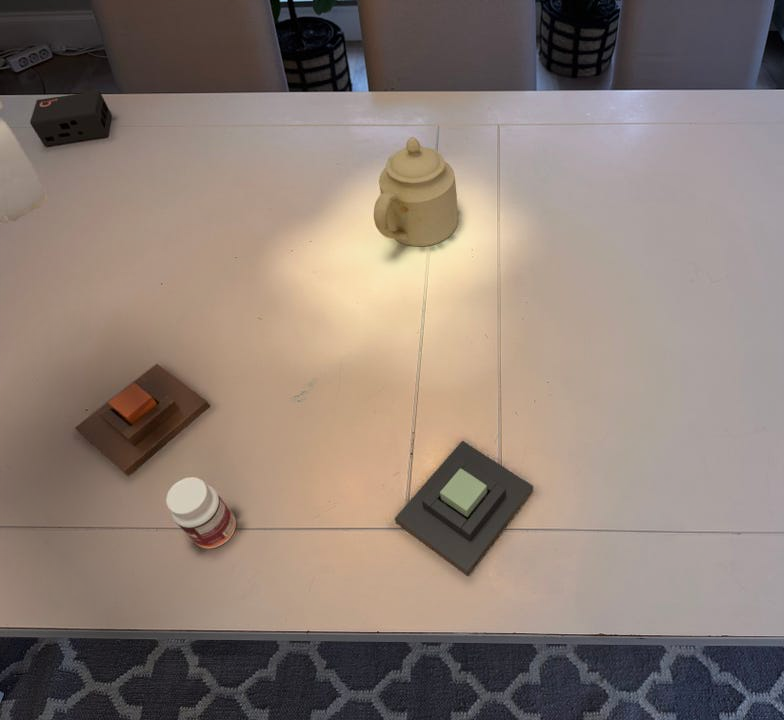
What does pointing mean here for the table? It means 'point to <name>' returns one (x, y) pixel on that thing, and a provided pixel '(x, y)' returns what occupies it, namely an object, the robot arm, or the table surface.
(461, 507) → the near key
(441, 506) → the dark grey stepped base
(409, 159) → the sugar bowl
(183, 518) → the pill bottle
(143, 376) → the brown button base
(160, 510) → the table surface
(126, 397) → the far key
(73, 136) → the electronic device
